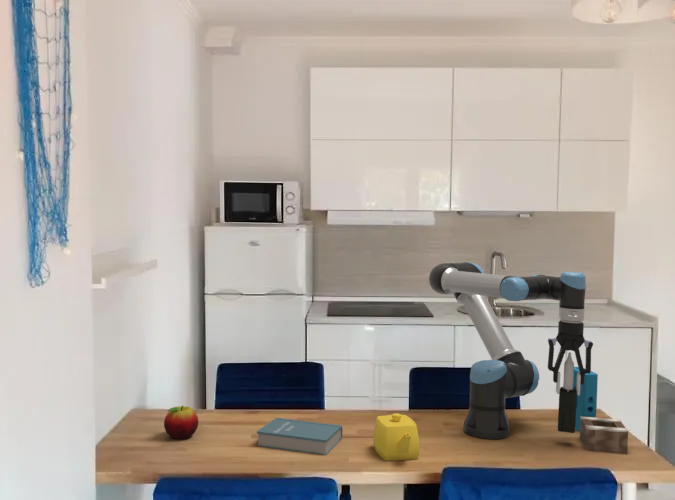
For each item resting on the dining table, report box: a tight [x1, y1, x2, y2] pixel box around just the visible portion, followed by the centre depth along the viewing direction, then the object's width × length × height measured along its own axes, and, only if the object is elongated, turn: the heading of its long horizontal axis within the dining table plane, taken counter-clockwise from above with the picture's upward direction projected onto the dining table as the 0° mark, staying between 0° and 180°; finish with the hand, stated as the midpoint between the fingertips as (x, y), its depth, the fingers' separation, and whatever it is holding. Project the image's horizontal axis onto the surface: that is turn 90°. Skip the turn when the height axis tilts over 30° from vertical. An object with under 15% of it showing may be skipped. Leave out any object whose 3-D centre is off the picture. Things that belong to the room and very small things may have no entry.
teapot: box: [373, 412, 420, 462], centre depth 196 cm, size 20×12×12 cm, turn 12°
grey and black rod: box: [557, 352, 577, 434], centre depth 207 cm, size 5×5×25 cm
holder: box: [579, 416, 629, 454], centre depth 207 cm, size 12×12×7 cm
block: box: [573, 366, 599, 433], centre depth 224 cm, size 12×5×20 cm, turn 8°
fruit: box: [163, 405, 199, 440], centre depth 208 cm, size 11×11×10 cm
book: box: [256, 417, 344, 456], centre depth 205 cm, size 23×16×5 cm
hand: (567, 393), depth 207 cm, fingers closed on grey and black rod, 5 cm apart
